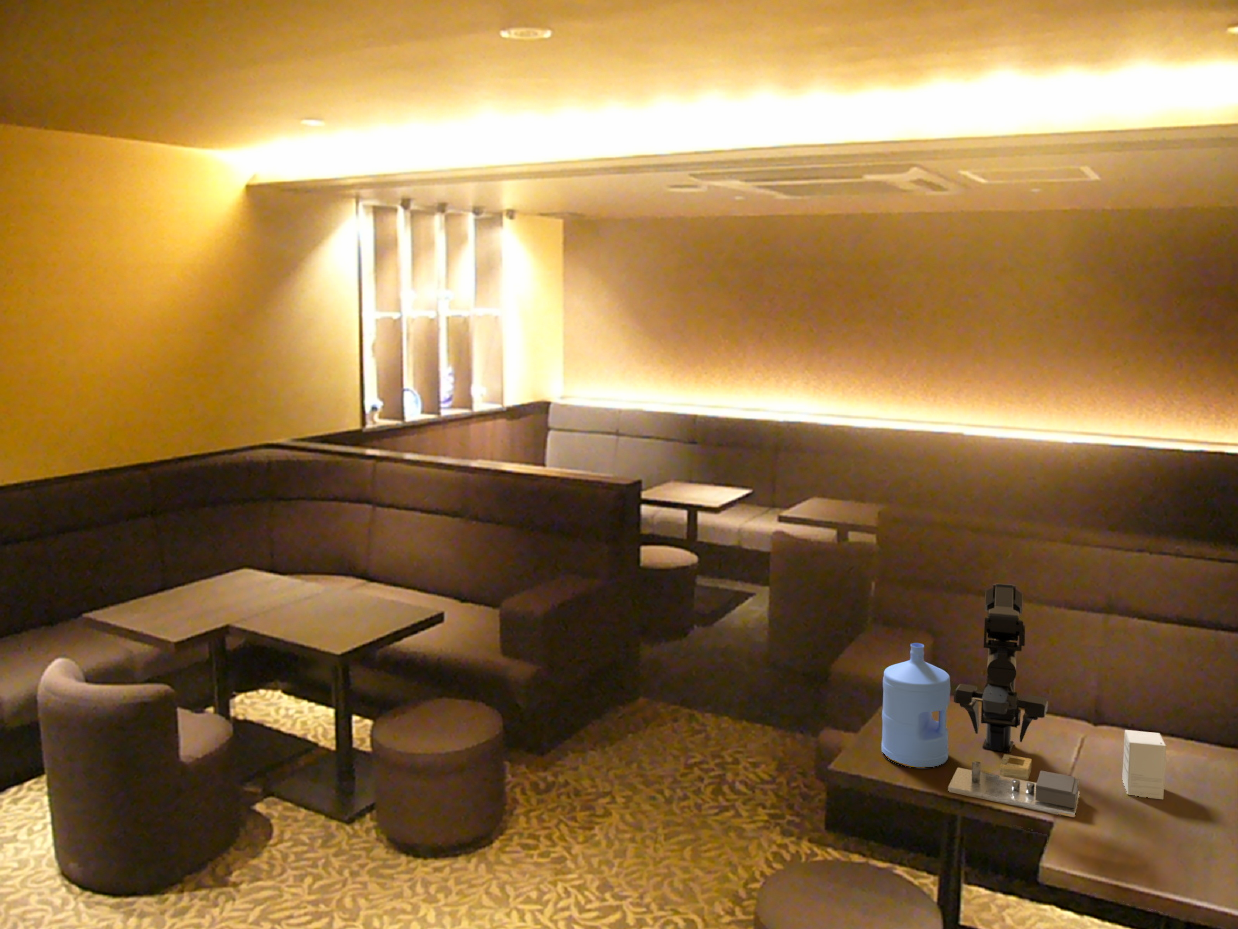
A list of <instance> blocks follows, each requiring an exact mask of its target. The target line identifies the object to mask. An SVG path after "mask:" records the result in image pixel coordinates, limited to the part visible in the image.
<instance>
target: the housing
mask: <svg viewBox="0 0 1238 929" xmlns="http://www.w3.org/2000/svg"><path fill="white" fill-rule="evenodd" d="M1036 783H1037V784H1036V797H1035V800H1036V801H1041V802H1046V803H1051V804H1056V805H1061V806H1065V807H1070V808H1075V805H1076V800H1077V796H1078V791H1079V783H1080V779H1079V778H1076V776H1072V775H1066V774H1060V773H1056V772H1049V771H1044V770H1040V771H1039V774H1038V778H1037V781H1036Z"/></svg>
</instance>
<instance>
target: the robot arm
mask: <svg viewBox="0 0 1238 929" xmlns="http://www.w3.org/2000/svg"><path fill="white" fill-rule="evenodd" d="M1023 594H1024V593H1022V592H1020V591H1019V590H1017V587H1016V585H1014V584H1010V583H997V582H996V583H993V584H992V587H991V588H989V589H988V590H986V591H985V597H984V598H985V599H984V611H985V612H987V616H985V617H984V627H983V628H984V631H983V648H984V649H987V651H988V652H987V654H988V655H987V666H986V673H987V674H986V675H987V676H986V677H987V678H986V684H985V685H984V687H983V691H978V686H976V685H973V684H972V685H971V684H966V683H959V685H957V687H956V689H955V690H954V691H953V692H954V693H953V703H955V704H959V706H960V707H961V708H964V709H965V710H966V711H967V714H968V715H969V717H970V718H969V719H970V720H971V723H972V727H973V730H974V733H975V734H976V735H978V734H979V731H980V730H979V729H980V723H981V724H985V725H986V729H985V730H986V733H985V739H984V742H983V743H982V747H981V748H983V749H987V750H992V751H998V752H1003V753H1007V754H1008V753H1011V751H1012V749H1013V748H1014V744H1015V743H1014V742H1015V741H1012V740H1011V739H1012V738H1011V737H1012V728H1015V729H1017V728H1018V727H1019V726H1021V727H1020V733H1019V742H1020V743H1022V742H1023V740H1024V737H1025V735H1026V732H1027V730H1028V727H1029V726H1030V724H1031V723H1032V721H1033V720H1034V721H1038V720H1039V718H1041V719H1043V718H1045V717H1046V715H1047V712H1048V709H1049V707H1048V706H1049V701H1048V699H1047V698H1046V697H1045V696H1039V695H1034V694H1033V695H1032V694H1028V695H1027V697H1026V699H1025V698H1019V694H1018V691H1017V692H1016V691H1015V690H1016V678H1017V652H1022V647H1025V645H1026V640H1025V639H1026V625H1025V624H1024V621H1023V619H1020V615H1022V614H1023V605H1024V604H1023V603H1024V602H1023V598H1024V596H1023ZM987 638H988V640H987ZM979 702H981V708H979ZM979 709H981V712H980V710H979ZM1022 709H1024V713H1023V715H1022V722H1021V714H1022ZM979 712H980V714H981V716H979ZM1021 723H1022V724H1021Z"/></svg>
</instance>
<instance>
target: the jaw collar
mask: <svg viewBox="0 0 1238 929" xmlns="http://www.w3.org/2000/svg"><path fill="white" fill-rule="evenodd" d="M1032 761H1033V760H1032V758H1028V757H1024V756H1023V757H1022V756H1017V755H1012V754H1008V753H1007V754H1006V753H1004V754H1003V757H1002V759H1001V761H1000V767H999V768H1000V769H999V776H1004V777H1009V778H1014V779H1019V780H1024V781H1029V779H1030V775H1031V772H1032Z"/></svg>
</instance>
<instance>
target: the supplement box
mask: <svg viewBox="0 0 1238 929" xmlns="http://www.w3.org/2000/svg"><path fill="white" fill-rule="evenodd" d="M1123 737H1124V741H1123V760H1122V761H1123V762H1122V776H1121V777H1122V780H1123V781H1122V780H1121V781H1122V784H1123V783H1124V784H1123V786H1125V787H1124V789H1126V790H1125V792H1126V791H1127V792H1126V795H1127V794H1129V795H1135V796H1134V797H1137V796H1139V797H1138V798H1146V797H1148V798H1149V799H1156V800H1164V796H1165V795H1164V794H1165V792H1164V790H1165V778H1166V777H1165V776H1166V761H1167V759H1166V758H1167V744H1166V743H1165V742H1164V741H1165V740H1164V739H1163V737H1162V735H1161V733H1160V732H1149V731H1142V730H1141V731H1139V730H1131V729H1130V730H1128V729H1124V736H1123Z"/></svg>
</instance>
